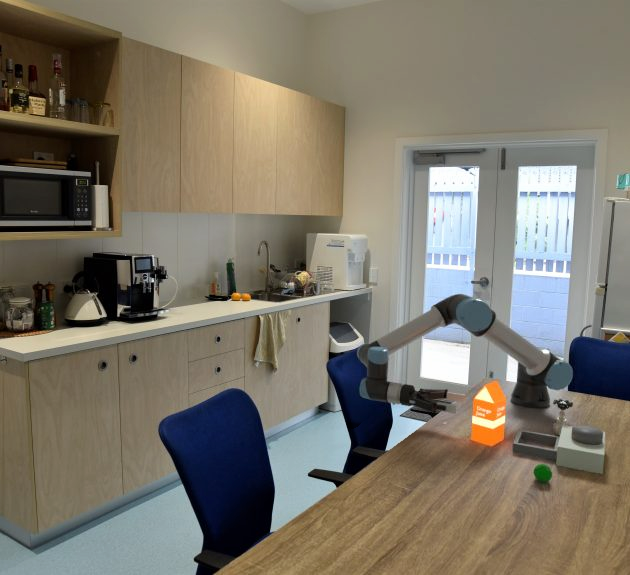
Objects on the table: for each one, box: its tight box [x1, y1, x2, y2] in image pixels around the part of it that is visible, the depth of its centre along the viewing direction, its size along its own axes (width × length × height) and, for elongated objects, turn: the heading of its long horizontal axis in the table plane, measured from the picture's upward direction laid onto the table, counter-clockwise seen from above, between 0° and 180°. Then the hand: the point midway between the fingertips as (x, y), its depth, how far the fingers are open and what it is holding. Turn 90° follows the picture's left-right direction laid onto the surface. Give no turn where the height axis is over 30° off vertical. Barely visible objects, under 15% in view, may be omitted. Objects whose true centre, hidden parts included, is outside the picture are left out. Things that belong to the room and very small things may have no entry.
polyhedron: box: [532, 463, 553, 483], centre depth 173 cm, size 5×5×5 cm
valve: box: [552, 398, 574, 436], centre depth 210 cm, size 7×7×12 cm
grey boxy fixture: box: [512, 424, 606, 475], centre depth 194 cm, size 22×26×9 cm
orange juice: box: [470, 380, 507, 447], centre depth 203 cm, size 8×9×20 cm
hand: (461, 403), depth 207 cm, fingers open, 13 cm apart
